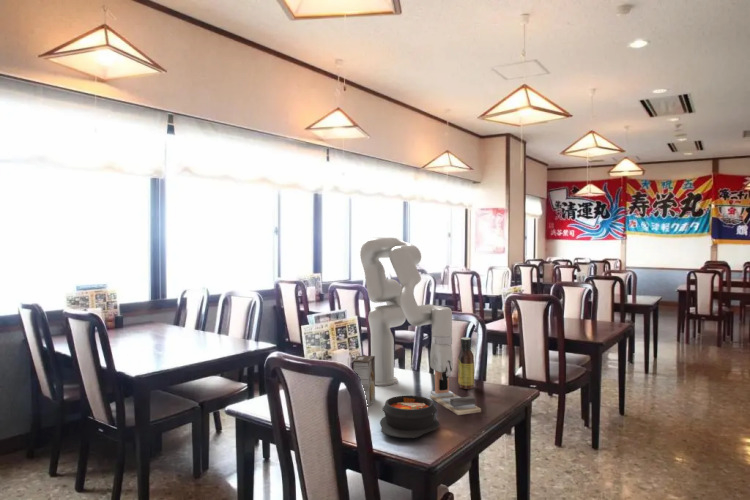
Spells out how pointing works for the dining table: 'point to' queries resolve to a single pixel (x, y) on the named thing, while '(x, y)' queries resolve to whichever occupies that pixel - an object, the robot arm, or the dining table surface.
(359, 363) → the coffee box
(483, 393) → the dining table surface
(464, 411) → the ticket board
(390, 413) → the casserole
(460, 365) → the sauce bottle
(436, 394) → the tan and white stand
